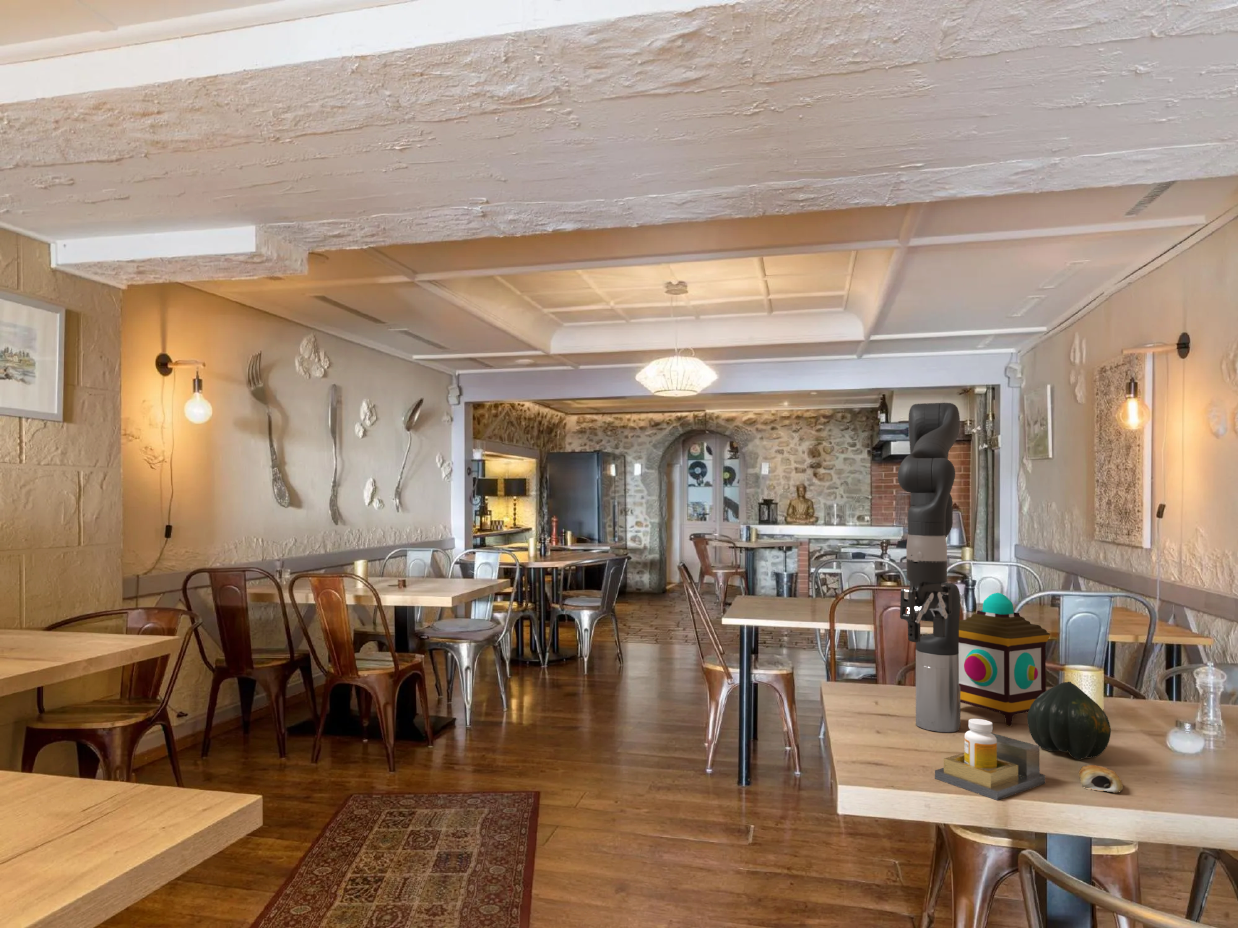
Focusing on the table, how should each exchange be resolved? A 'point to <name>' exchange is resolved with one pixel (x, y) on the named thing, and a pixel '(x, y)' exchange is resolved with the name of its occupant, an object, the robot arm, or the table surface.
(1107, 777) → the pastry
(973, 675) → the decorative lantern
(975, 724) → the supplement bottle
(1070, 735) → the squash
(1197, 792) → the table surface
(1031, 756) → the grey and tan tray
